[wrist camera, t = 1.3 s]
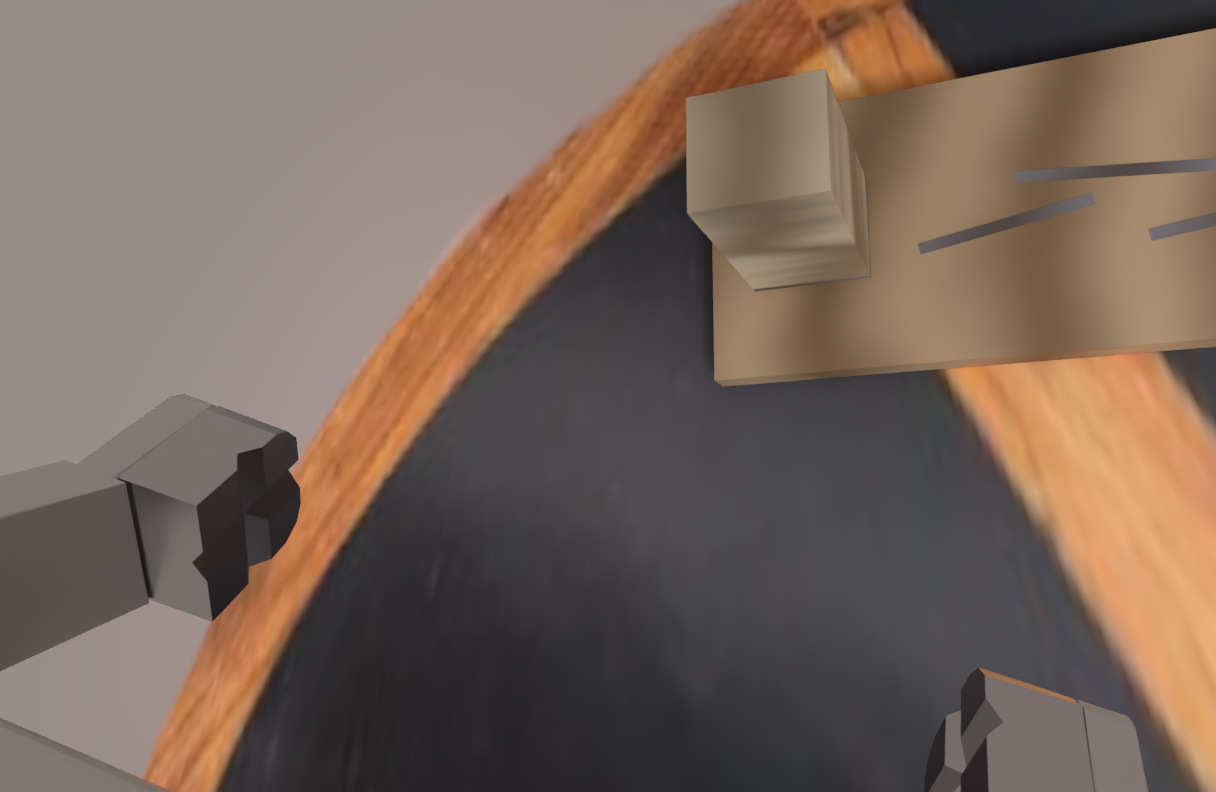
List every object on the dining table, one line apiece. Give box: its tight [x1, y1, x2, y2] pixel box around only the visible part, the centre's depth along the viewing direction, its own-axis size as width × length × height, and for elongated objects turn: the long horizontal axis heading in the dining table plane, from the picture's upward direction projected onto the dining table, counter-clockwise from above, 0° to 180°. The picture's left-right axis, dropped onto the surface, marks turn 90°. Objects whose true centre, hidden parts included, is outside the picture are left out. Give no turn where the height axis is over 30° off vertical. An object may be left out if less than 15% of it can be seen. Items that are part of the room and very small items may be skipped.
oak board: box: [712, 28, 1216, 387], centre depth 33 cm, size 26×11×1 cm, turn 90°
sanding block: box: [686, 69, 871, 292], centre depth 33 cm, size 4×4×8 cm
